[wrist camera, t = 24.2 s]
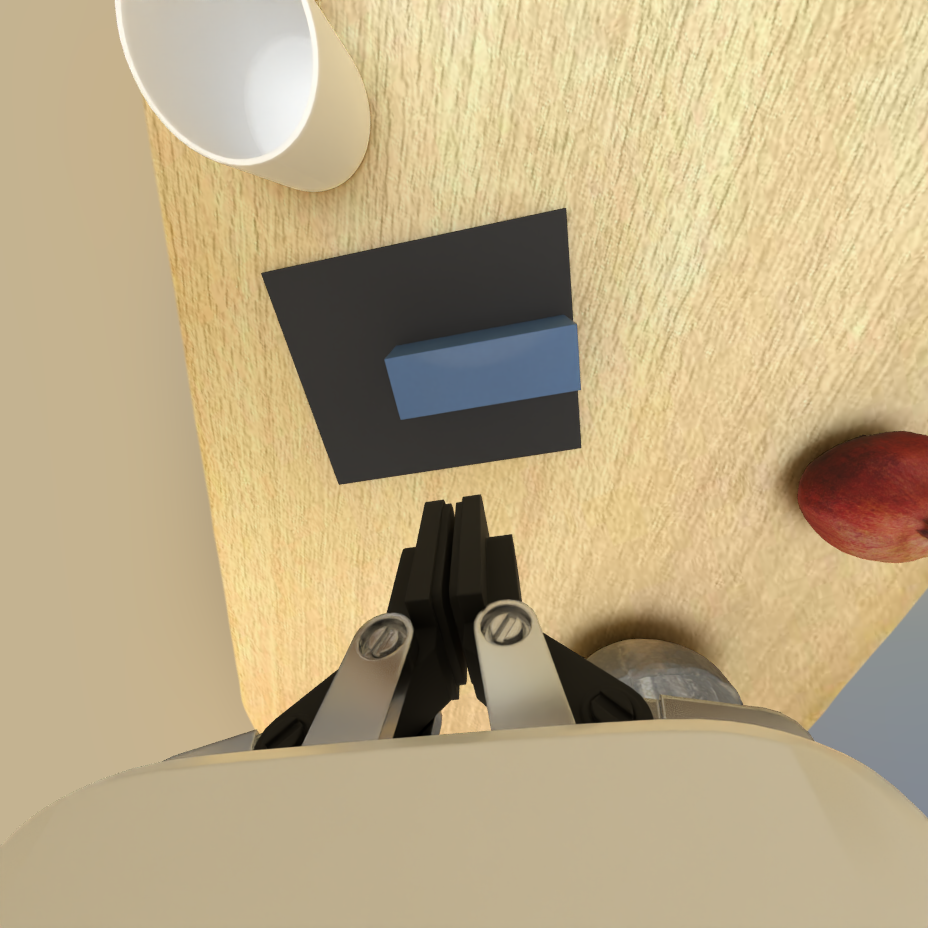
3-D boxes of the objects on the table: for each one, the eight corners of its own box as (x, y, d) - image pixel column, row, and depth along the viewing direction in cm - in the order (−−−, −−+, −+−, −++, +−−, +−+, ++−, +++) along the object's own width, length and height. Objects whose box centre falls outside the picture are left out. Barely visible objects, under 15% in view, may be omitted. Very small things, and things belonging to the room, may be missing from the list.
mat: (340, 482, 39) (338, 484, 38) (263, 272, 31) (260, 273, 30) (580, 446, 36) (581, 448, 36) (565, 208, 28) (566, 207, 28)
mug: (234, -82, 23) (67, -311, 13) (385, -44, 23) (324, -241, 14) (246, 179, 28) (133, 144, 19) (368, 206, 28) (316, 183, 19)
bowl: (529, 636, 47) (539, 704, 40) (688, 586, 43) (730, 653, 36) (582, 724, 54) (598, 796, 47) (722, 688, 50) (763, 761, 43)
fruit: (928, 413, 34) (1089, 470, 25) (878, 515, 38) (999, 594, 30) (793, 417, 34) (904, 474, 26) (759, 517, 39) (843, 595, 30)
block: (400, 420, 30) (581, 390, 29) (383, 359, 28) (577, 323, 27) (409, 400, 34) (568, 373, 33) (395, 345, 32) (564, 314, 31)
